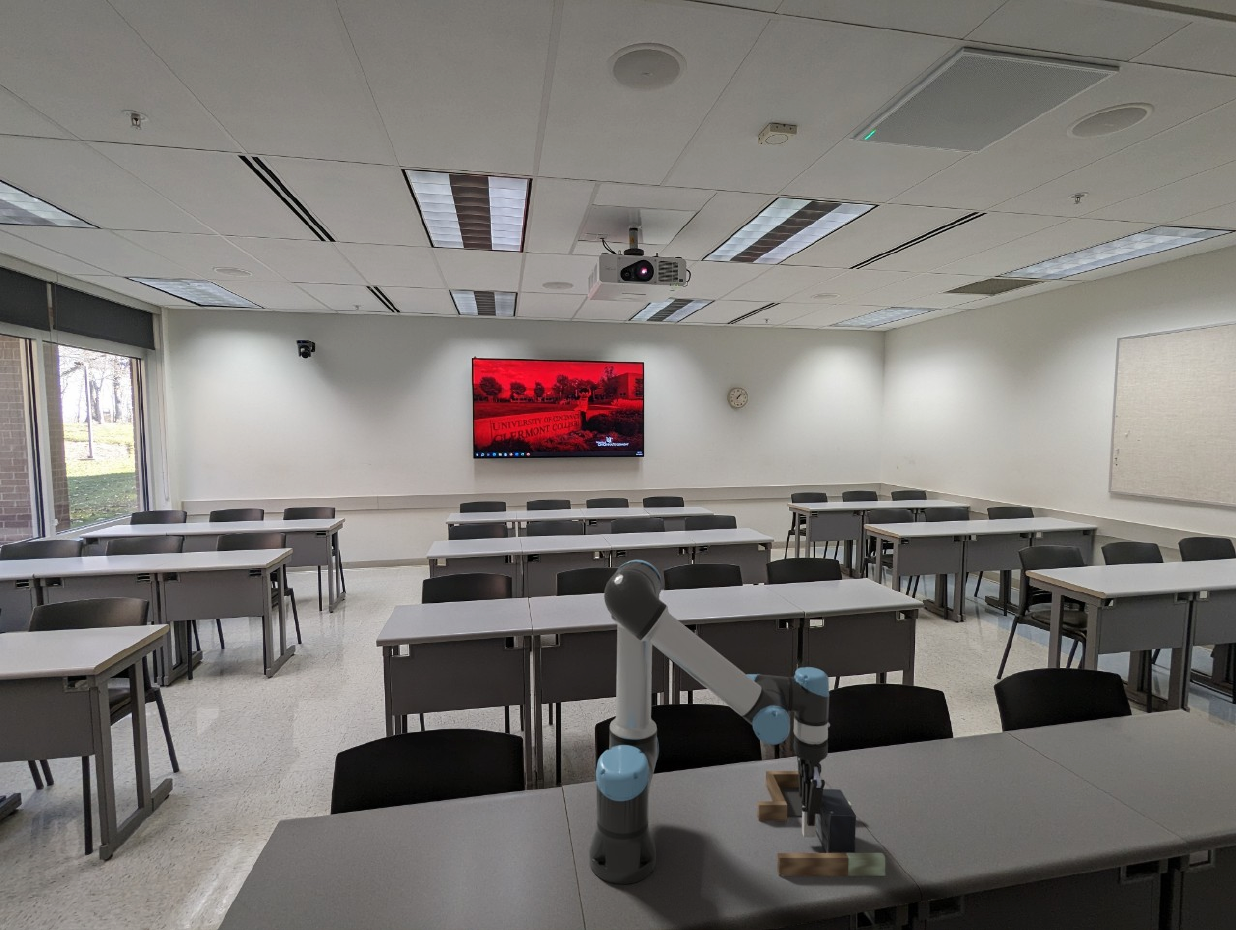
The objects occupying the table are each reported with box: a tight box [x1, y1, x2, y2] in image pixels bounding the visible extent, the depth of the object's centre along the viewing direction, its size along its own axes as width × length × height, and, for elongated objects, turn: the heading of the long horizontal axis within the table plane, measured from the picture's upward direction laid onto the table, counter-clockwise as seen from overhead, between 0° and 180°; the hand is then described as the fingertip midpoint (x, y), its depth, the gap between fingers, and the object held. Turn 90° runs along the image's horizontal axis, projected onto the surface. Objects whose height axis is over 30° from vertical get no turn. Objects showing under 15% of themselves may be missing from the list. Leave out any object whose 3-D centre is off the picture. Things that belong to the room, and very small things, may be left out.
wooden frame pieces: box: [756, 770, 886, 877], centre depth 146 cm, size 23×34×4 cm
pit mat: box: [779, 787, 804, 818], centre depth 155 cm, size 9×12×1 cm
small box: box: [816, 788, 857, 853], centre depth 139 cm, size 11×6×10 cm, turn 178°
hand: (808, 835), depth 139 cm, fingers closed
